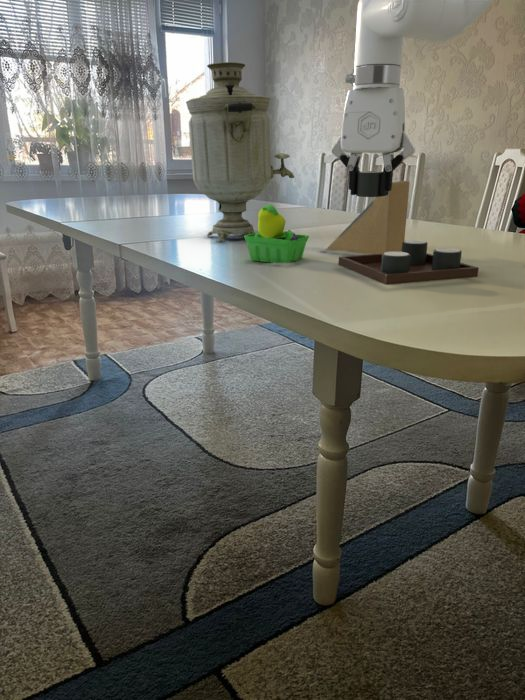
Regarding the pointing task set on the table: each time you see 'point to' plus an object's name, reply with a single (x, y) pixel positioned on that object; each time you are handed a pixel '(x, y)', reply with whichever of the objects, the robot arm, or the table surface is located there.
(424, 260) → the corner roll
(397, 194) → the sandwich container
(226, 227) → the samovar
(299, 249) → the fruit basket
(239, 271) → the table surface
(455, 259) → the corner roll
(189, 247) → the table surface
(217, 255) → the table surface
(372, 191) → the maki roll
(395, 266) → the corner roll
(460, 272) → the tray
